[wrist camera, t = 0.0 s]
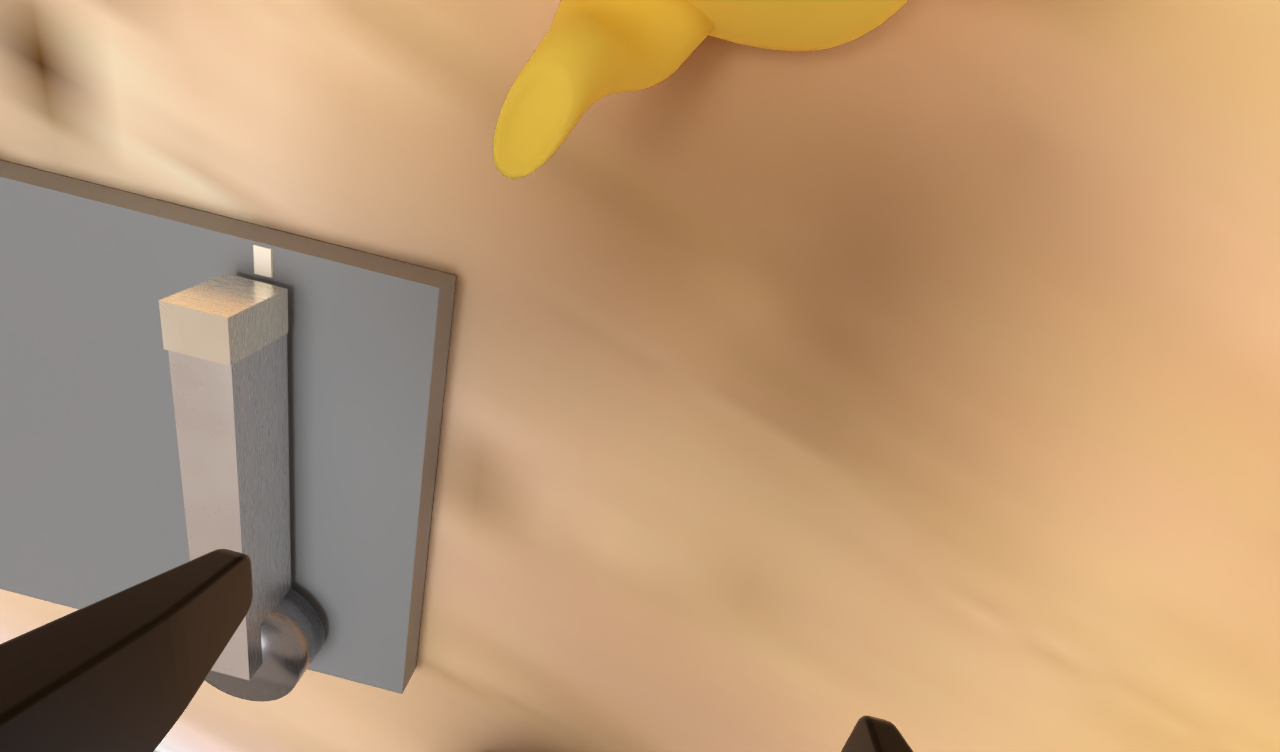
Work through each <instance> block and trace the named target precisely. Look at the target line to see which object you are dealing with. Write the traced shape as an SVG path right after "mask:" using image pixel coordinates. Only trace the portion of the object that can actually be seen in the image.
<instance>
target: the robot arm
mask: <svg viewBox="0 0 1280 752" xmlns="http://www.w3.org/2000/svg"><path fill="white" fill-rule="evenodd" d="M252 599H253V584H252V564H251V559H250V558H249V556H248V555H246V554H243V553H239V552H235V551H232V550H228V549H217V550H214V551H212V552H209V553H207V554H205V555H202V556H200V557H198V558H196V559H193V560H191V561H189V562H187V563H184V564H182V565H180V566H177V567H175V568H173V569H171V570H168V571H166V572H164V573H162V574H159V575H157V576H155V577H152V578H150V579H148V580H146V581H143V582H141V583H139V584H136V585H134V586H132V587H130V588H127V589H125V590H123V591H121V592H118V593H116V594H114V595H111V596H109V597H107V598H105V599H102V600H100V601H98V602H96V603H93V604H91V605H89V606H86V607H84V608H82V609H80V610H77V611H75V612H73V613H71V614H68V615H66V616H64V617H61V618H59V619H57V620H55V621H52V622H50V623H48V624H45V625H43V626H41V627H39V628H36V629H34V630H32V631H30V632H27V633H25V634H23V635H20V636H18V637H16V638H14V639H11V640H9V641H7V642H5V643H2V644H0V752H153V751H154V750H155V748H156V747H157V746H158V745H159V743H160V742H161V741H162V740H163V738H164V737H165V736H166V734H167V733H168V732H169V731H170V729H171V728H172V727H173V725H174V724H175V723H176V721H177V720H178V719H179V717H180V716H181V715H182V713H183V712H184V710H185V709H186V707H187V706H188V704H189V703H190V701H191V700H192V698H193V697H194V695H195V694H196V692H197V691H198V689H199V688H200V686H201V685H202V683H203V681H204V680H205V678H206V677H207V675H208V674H209V672H210V671H211V669H212V667H213V666H214V664H215V663H216V661H217V660H218V658H219V657H220V655H221V653H222V652H223V650H224V649H225V647H226V646H227V644H228V643H229V641H230V639H231V638H232V636H233V635H234V633H235V632H236V630H237V629H238V627H239V625H240V624H241V622H242V621H243V619H244V618H245V616H246V614H247V613H248V611H249V609H250V606H251V603H252ZM841 752H913V751H912V749H911V748H910V746H909V745H908V743H907V742H906V741H905V739H904V738H903V736H902V735H901V733H900V732H899V731H898V729H897V728H896V727H895V726H894V725H893V724H892V723H891V722H889V721H886V720H883V719H879V718H875V717H871V716H863V717H861V718H860V719H859V720H858V722H857V724H856V726H855V727H854V729H853V731H852V733H851V735H850V736H849V738H848V740H847V742H846V744H845V745H844V747H843V749H842V751H841Z"/></svg>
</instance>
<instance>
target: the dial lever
mask: <svg viewBox="0 0 1280 752" xmlns="http://www.w3.org/2000/svg"><path fill="white" fill-rule="evenodd" d="M159 309H160V318H161V328H162V337H163V346H164V349H165V350H168V354H169V364H170V373H171V383H172V392H173V402H174V412H175V421H176V431H177V441H178V450H179V460H180V469H181V479H182V489H183V498H184V508H185V518H186V527H187V537H188V546H189V556H190V561H191V560H193V559H196V558H198V557H200V556H202V555H205V554H207V553H209V552H212V551H214V550H217V549H228V550H232V551H235V552H239V553H243V554H246V555H248V556H249V558H250V559H251V564H252V584H253V599H252V603H251V606H250V609H249V611H248V613H247V614H246V616H245V618H244V619H243V621H242V622H241V624H240V625H239V627H238V629H237V630H236V632H235V633H234V635H233V636H232V638H231V639H230V641H229V643H228V644H227V646H226V647H225V649H224V650H223V652H222V653H221V655H220V657H219V658H218V660H217V661H216V663H215V664H214V666H213V667H212V669H211V671H210V672H209V674H208V675H207V677H206V678H205V681H207V682H208V683H209V684H211V685H212V686H214V687H216V688H217V689H219V690H221V691H223V692H225V693H227V694H230V695H232V696H235V697H238V698H241V699H246V700H251V701H271V700H276V699H279V698H281V697H283V696H285V695H287V694H288V693H289V692H290V691H291V690H292V689H293V688H294V686H295V685H296V684H297V682H298V681H299V679H300V678H301V677H302V675H303V674H304V672H305V671H306V669H307V668H308V667H309V665H310V664H311V662H312V661H313V659H314V658H315V657H316V655H317V654H318V652H319V651H320V650H321V648H322V646H323V643H324V638H325V632H324V626H323V623H322V621H321V618H320V616H319V615H318V613H317V611H316V610H315V609H314V607H313V606H312V605H311V604H310V603H309V602H308V601H307V600H306V599H305V598H304V597H303V596H302V595H300V594H299V593H298V592H296V591H295V590H293V589H292V588H291V555H290V493H289V431H288V369H287V333H288V289H286V288H282V287H278V286H275V285H271V284H267V283H263V282H259V281H255V280H251V279H247V278H243V277H239V276H235V275H231V274H227V273H226V274H224V275H221V276H219V277H216V278H214V279H211V280H209V281H206V282H204V283H201V284H199V285H196V286H194V287H191V288H188V289H186V290H183V291H181V292H178V293H176V294H173V295H171V296H168V297H166V298H163V299H161V300H159Z"/></svg>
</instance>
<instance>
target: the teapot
mask: <svg viewBox="0 0 1280 752" xmlns="http://www.w3.org/2000/svg"><path fill="white" fill-rule="evenodd" d="M907 1H908V0H561V3H560V5H559V7H558V10H557V12H556V15H555V17H554V20H553V22H552V25H551V27H550V29H549V31H548V32H547V34H546V35H545V37H544V38H543V40H542V41H541V43H540V44H539V46H538V47H537V49H536V50H535V52H534V53H533V55H532V56H531V58H530V59H529V60H528V62H527V63H526V65H525V66H524V68H523V69H522V71H521V72H520V74H519V75H518V77H517V79H516V80H515V82H514V84H513V85H512V87H511V89H510V91H509V93H508V95H507V97H506V100H505V102H504V104H503V107H502V109H501V112H500V114H499V118H498V121H497V125H496V128H495V133H494V141H493V158H494V161H495V164H496V167H497V169H498V170H499V171H500V172H501V173H502V174H503V175H504V176H507V177H510V178H513V179H514V178H519V177H525V176H526V175H528V174H530V173H532V172H534V171H535V170H537V169H538V168H539V167H540V166H541V165H542V164H544V163H545V162H546V161H547V160H548V159H549V158H550V157H551V156H552V155H553V153H554V152H555V151H556V150H557V149H558V147H559V146H560V145H561V144H562V143H563V141H564V140H565V139H566V137H567V136H568V134H569V133H570V131H571V130H572V129H573V127H574V126H575V124H576V123H577V122H578V120H579V119H580V118H581V116H582V115H583V113H584V112H585V111H586V110H587V109H588V108H589V107H590V106H591V105H592V104H593V103H594V102H596V101H597V100H599V99H600V98H602V97H604V96H606V95H609V94H612V93H620V92H630V91H637V90H642V89H647V88H649V87H651V86H653V85H655V84H658V83H660V82H662V81H664V80H665V79H666V78H668V77H669V76H670V75H671V74H673V73H674V72H675V71H676V70H677V69H678V68H679V67H680V66H681V65H682V63H683V62H684V61H685V60H686V59H687V58H688V57H689V56H690V55H691V53H692V52H693V51H694V50H695V49H696V48H697V47H698V46H699V45H700V43H701V42H702V41H703V40H704V39H705V38H706V37H707V36H708V35H709V36H713V37H716V38H720V39H723V40H727V41H731V42H734V43H738V44H743V45H748V46H754V47H759V48H764V49H770V50H785V51H799V52H801V51H812V50H822V49H829V48H832V47H835V46H838V45H841V44H844V43H847V42H850V41H852V40H854V39H857V38H858V37H860V36H862V35H864V34H866V33H867V32H869V31H871V30H873V29H875V28H876V27H878V26H880V25H881V24H882V23H883V22H885V21H886V20H887V19H888V18H889V17H891V16H892V15H893V14H894V13H895V12H897V11H898V10H899V9H900V8H901V7H903V6H904V5H905V4H906V2H907Z"/></svg>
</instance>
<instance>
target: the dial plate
mask: <svg viewBox="0 0 1280 752" xmlns="http://www.w3.org/2000/svg"><path fill="white" fill-rule="evenodd" d="M226 273H227V274H231V275H235V276H239V277H243V278H247V279H251V280H255V281H259V282H263V283H267V284H271V285H275V286H278V287H282V288H286V289H288V333H287V369H288V431H289V493H290V555H291V588H292V589H293V590H295V591H296V592H298V593H299V594H300V595H302V596H303V597H304V598H305V599H306V600H307V601H308V602H309V603H310V604H311V605H312V606H313V607H314V609H315V610H316V611H317V613H318V615H319V616H320V618H321V621H322V623H323V626H324V632H325V638H324V643H323V646H322V648H321V650H320V651H319V652H318V654H317V655H316V657H315V658H314V659H313V661H312V662H311V664H310V665H309V667H308V668H307V669H309V670H313V671H317V672H321V673H324V674H328V675H332V676H336V677H340V678H343V679H347V680H351V681H355V682H359V683H363V684H366V685H370V686H374V687H378V688H382V689H386V690H389V691H393V692H397V693H401V694H402V693H403V691H404V689H405V687H406V685H407V684H408V682H409V680H410V678H411V676H412V674H413V672H414V670H415V668H416V663H417V653H418V643H419V633H420V624H421V614H422V604H423V594H424V585H425V575H426V565H427V556H428V546H429V536H430V526H431V517H432V507H433V497H434V488H435V478H436V468H437V458H438V449H439V439H440V429H441V419H442V410H443V400H444V390H445V381H446V371H447V361H448V351H449V342H450V332H451V322H452V313H453V303H454V293H455V283H456V275H452V274H448V273H444V272H440V271H436V270H432V269H428V268H425V267H421V266H417V265H413V264H409V263H405V262H401V261H397V260H393V259H389V258H385V257H381V256H377V255H373V254H369V253H365V252H361V251H357V250H354V249H350V248H346V247H342V246H338V245H334V244H330V243H326V242H322V241H318V240H314V239H310V238H306V237H302V236H298V235H294V234H290V233H286V232H283V231H279V230H275V229H271V228H267V227H263V226H259V225H255V224H251V223H247V222H243V221H239V220H235V219H231V218H227V217H223V216H219V215H215V214H212V213H208V212H204V211H200V210H196V209H192V208H188V207H184V206H180V205H176V204H172V203H168V202H164V201H160V200H156V199H152V198H148V197H144V196H141V195H137V194H133V193H129V192H125V191H121V190H117V189H113V188H109V187H105V186H101V185H97V184H93V183H89V182H85V181H81V180H77V179H73V178H70V177H66V176H62V175H58V174H54V173H50V172H46V171H42V170H38V169H34V168H30V167H26V166H22V165H18V164H14V163H10V162H6V161H2V160H0V589H3V590H7V591H11V592H15V593H18V594H22V595H26V596H30V597H34V598H38V599H41V600H45V601H49V602H53V603H57V604H61V605H64V606H68V607H72V608H76V609H82V608H84V607H86V606H89V605H91V604H93V603H96V602H98V601H100V600H102V599H105V598H107V597H109V596H111V595H114V594H116V593H118V592H121V591H123V590H125V589H127V588H130V587H132V586H134V585H136V584H139V583H141V582H143V581H146V580H148V579H150V578H152V577H155V576H157V575H159V574H162V573H164V572H166V571H168V570H171V569H173V568H175V567H177V566H180V565H182V564H184V563H187V562H189V561H190V556H189V546H188V537H187V527H186V518H185V508H184V498H183V489H182V479H181V469H180V460H179V450H178V441H177V431H176V421H175V412H174V402H173V392H172V383H171V373H170V364H169V354H168V350H165V349H164V346H163V337H162V328H161V318H160V309H159V300H161V299H163V298H166V297H168V296H171V295H173V294H176V293H178V292H181V291H183V290H186V289H188V288H191V287H194V286H196V285H199V284H201V283H204V282H206V281H209V280H211V279H214V278H216V277H219V276H221V275H224V274H226Z"/></svg>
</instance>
